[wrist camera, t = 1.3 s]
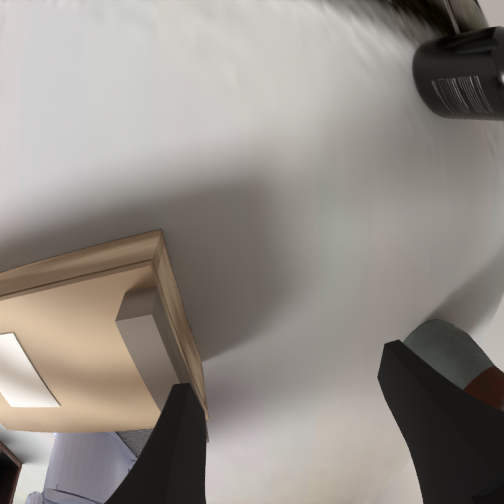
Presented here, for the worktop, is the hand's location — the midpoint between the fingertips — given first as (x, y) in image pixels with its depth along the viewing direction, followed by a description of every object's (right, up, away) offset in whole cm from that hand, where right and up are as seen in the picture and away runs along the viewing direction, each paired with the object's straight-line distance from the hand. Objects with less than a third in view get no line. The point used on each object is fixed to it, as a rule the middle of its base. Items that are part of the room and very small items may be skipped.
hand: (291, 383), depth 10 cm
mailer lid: (-14, -3, +4) cm, 15 cm away
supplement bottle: (+14, +19, +8) cm, 25 cm away
